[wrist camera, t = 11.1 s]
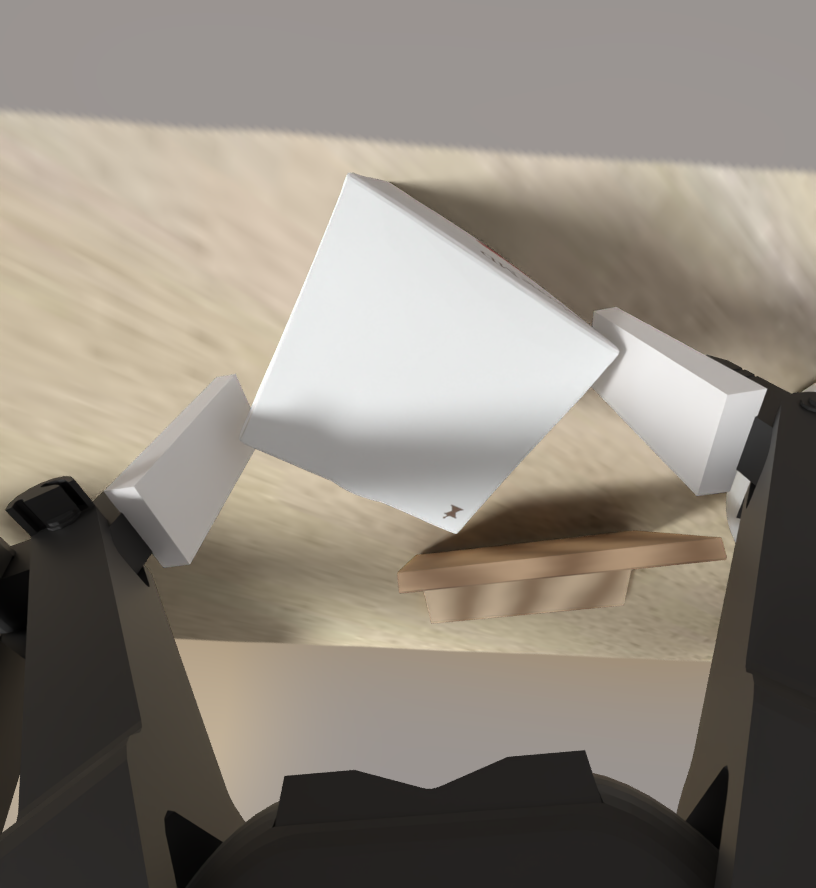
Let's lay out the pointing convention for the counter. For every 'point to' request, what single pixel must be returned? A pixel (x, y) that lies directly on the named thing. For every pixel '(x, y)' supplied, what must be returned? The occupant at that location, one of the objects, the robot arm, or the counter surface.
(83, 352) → the counter surface
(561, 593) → the laid plank
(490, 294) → the supplement box
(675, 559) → the plank
